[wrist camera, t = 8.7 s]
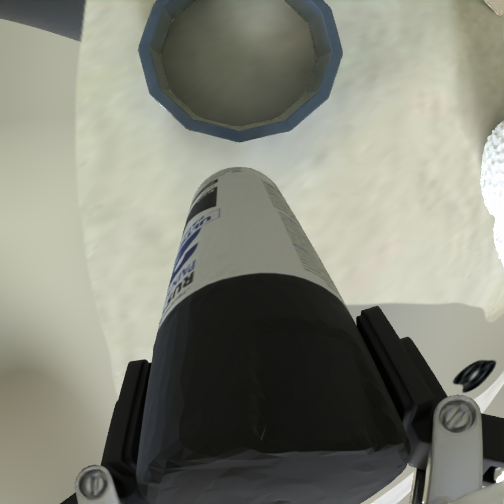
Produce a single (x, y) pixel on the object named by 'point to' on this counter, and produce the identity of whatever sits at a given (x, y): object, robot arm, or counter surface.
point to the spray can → (261, 367)
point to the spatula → (496, 6)
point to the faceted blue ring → (328, 59)
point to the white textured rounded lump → (495, 183)
